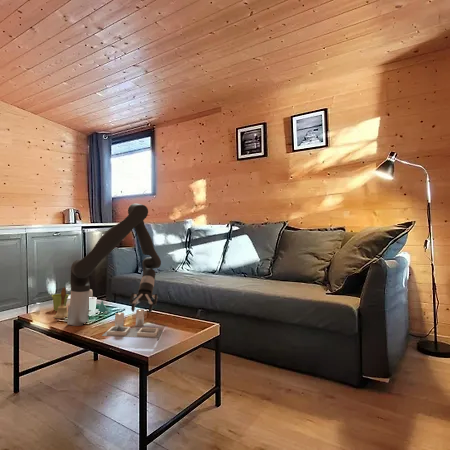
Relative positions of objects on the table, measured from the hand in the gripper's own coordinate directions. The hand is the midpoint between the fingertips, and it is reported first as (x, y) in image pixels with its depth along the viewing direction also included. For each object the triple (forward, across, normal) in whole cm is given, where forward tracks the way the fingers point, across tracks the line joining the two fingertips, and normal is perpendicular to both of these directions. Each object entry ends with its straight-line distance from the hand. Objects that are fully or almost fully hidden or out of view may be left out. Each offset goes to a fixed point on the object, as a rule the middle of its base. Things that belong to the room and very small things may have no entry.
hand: (141, 311), depth 183 cm
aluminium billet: (+7, 0, +4) cm, 8 cm away
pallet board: (+16, 0, -5) cm, 17 cm away
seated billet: (+15, -7, -6) cm, 18 cm away
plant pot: (-14, -54, +25) cm, 61 cm away
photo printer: (-17, -42, +28) cm, 53 cm away
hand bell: (-3, -46, +14) cm, 48 cm away
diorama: (-11, -24, +23) cm, 35 cm away
